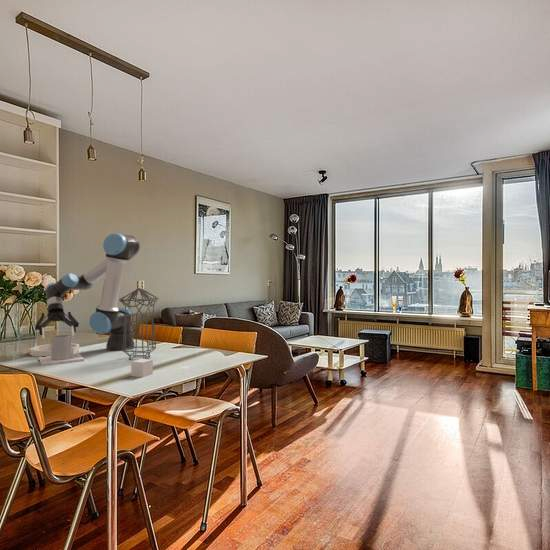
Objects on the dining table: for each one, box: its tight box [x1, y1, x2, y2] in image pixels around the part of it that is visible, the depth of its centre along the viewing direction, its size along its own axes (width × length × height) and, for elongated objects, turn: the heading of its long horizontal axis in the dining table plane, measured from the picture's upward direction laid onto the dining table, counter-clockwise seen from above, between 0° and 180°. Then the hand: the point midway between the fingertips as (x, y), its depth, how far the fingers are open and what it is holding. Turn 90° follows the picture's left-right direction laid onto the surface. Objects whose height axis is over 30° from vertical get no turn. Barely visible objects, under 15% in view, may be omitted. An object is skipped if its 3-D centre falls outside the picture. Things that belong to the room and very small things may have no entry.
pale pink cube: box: [130, 358, 154, 378], centre depth 168 cm, size 6×6×6 cm
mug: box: [50, 334, 72, 360], centre depth 199 cm, size 12×8×11 cm
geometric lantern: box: [118, 287, 160, 361], centre depth 202 cm, size 16×16×35 cm
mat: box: [38, 352, 85, 366], centre depth 200 cm, size 18×18×1 cm
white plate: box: [29, 342, 80, 357], centre depth 221 cm, size 23×23×3 cm
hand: (58, 338), depth 208 cm, fingers open, 13 cm apart
